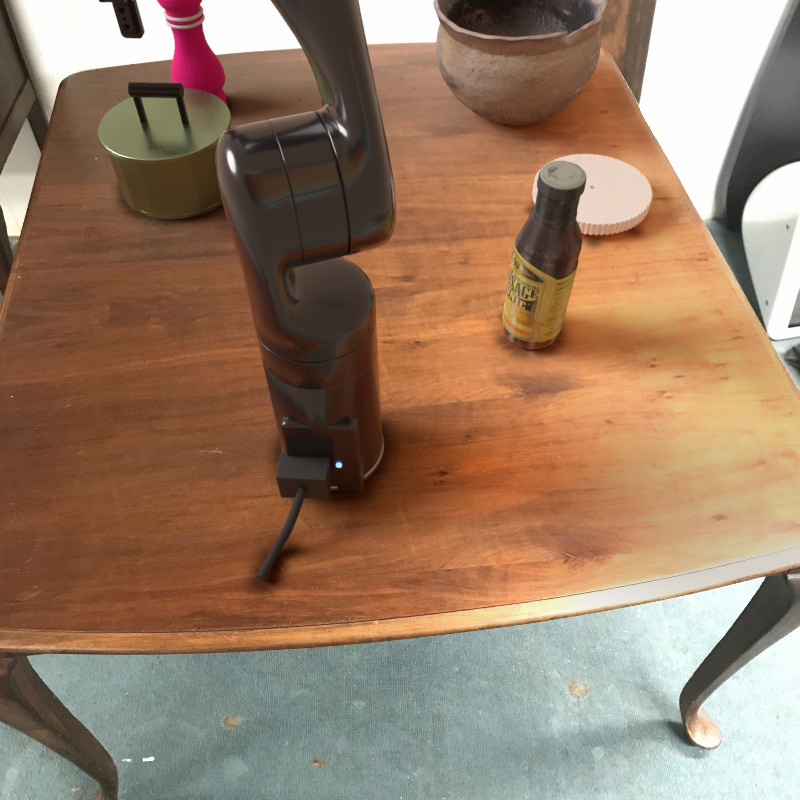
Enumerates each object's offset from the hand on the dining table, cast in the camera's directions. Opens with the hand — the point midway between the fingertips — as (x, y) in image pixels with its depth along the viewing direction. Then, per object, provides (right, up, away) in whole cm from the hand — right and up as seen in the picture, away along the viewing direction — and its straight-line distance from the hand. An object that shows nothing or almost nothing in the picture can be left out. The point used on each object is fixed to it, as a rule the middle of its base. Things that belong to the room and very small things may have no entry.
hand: (145, 16), depth 80 cm
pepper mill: (-1, +1, +29) cm, 29 cm away
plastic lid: (+49, -16, +14) cm, 54 cm away
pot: (-1, -12, +18) cm, 22 cm away
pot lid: (-1, -7, +12) cm, 14 cm away
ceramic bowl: (+42, +1, +29) cm, 51 cm away
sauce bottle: (+40, -33, +1) cm, 52 cm away
